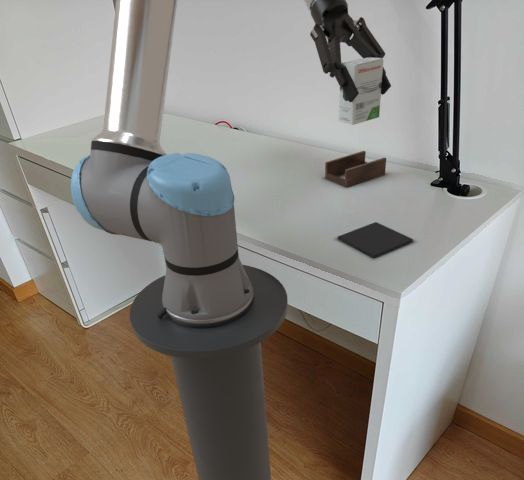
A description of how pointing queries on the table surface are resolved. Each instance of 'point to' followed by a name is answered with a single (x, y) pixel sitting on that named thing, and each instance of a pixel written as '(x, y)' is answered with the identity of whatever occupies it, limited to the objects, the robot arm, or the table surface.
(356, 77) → the ink box
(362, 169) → the holder
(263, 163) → the table surface
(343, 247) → the table surface
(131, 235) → the robot arm
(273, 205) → the table surface
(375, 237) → the mat
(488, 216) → the table surface
